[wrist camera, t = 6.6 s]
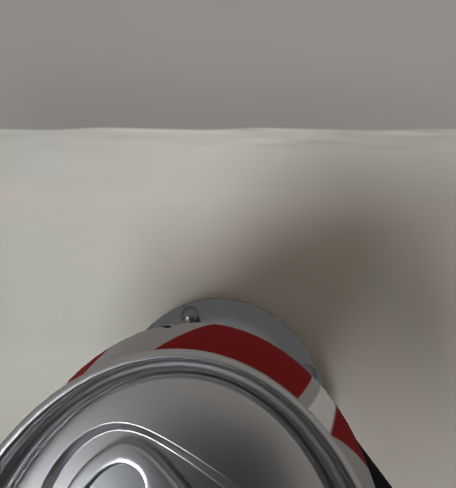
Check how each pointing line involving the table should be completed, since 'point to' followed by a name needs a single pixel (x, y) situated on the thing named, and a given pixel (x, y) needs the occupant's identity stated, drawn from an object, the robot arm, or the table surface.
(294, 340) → the flange
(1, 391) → the table surface
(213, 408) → the soda can
